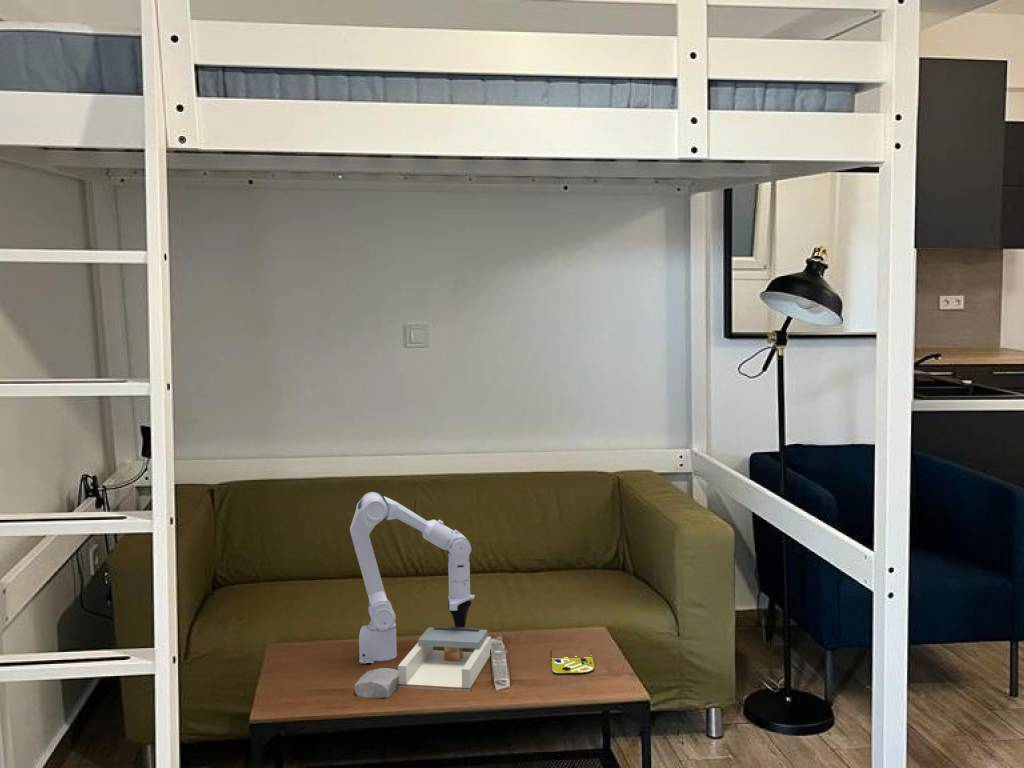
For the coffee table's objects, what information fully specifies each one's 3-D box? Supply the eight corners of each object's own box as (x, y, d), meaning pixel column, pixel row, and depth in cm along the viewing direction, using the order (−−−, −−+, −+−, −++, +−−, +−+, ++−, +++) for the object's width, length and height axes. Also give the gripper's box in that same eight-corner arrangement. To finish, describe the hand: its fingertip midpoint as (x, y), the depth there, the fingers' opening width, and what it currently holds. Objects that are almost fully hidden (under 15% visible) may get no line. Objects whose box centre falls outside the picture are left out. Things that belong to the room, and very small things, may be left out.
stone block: (353, 704, 242) (392, 698, 240) (348, 685, 242) (387, 679, 240) (369, 687, 253) (406, 682, 251) (365, 669, 253) (402, 663, 251)
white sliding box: (398, 687, 247) (398, 665, 246) (425, 653, 270) (425, 633, 270) (470, 691, 243) (469, 669, 243) (491, 656, 267) (491, 636, 266)
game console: (549, 652, 271) (549, 647, 271) (590, 651, 271) (590, 646, 271) (552, 677, 253) (552, 671, 253) (597, 676, 253) (597, 670, 253)
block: (444, 660, 262) (443, 645, 261) (448, 655, 266) (447, 640, 265) (459, 661, 261) (458, 646, 261) (463, 655, 265) (462, 641, 265)
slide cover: (418, 645, 260) (418, 637, 259) (429, 632, 269) (428, 624, 269) (478, 648, 257) (478, 640, 256) (487, 635, 266) (487, 627, 266)
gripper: (467, 587, 261) (468, 638, 263) (479, 572, 276) (480, 620, 277) (441, 586, 263) (442, 637, 264) (454, 571, 277) (455, 619, 278)
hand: (460, 628), depth 270 cm, fingers closed
